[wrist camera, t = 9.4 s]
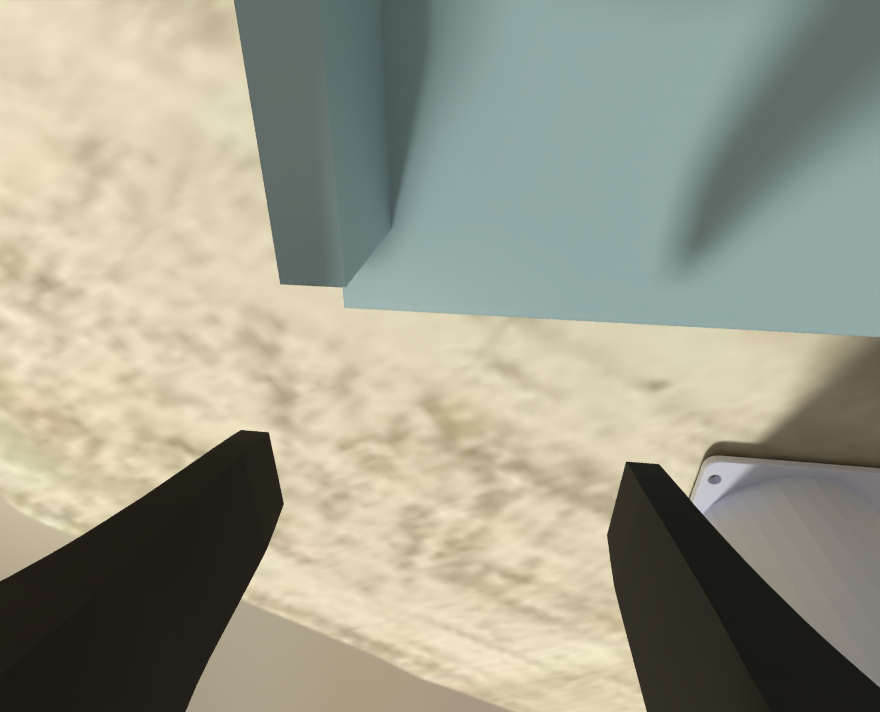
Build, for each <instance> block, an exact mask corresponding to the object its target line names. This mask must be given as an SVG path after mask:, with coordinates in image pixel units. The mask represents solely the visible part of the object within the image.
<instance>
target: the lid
mask: <svg viewBox="0 0 880 712" xmlns="http://www.w3.org/2000/svg"><path fill="white" fill-rule="evenodd" d="M234 4H235V10H236V16H237V22H238V28H239V34H240V40H241V46H242V53H243V59H244V65H245V71H246V77H247V83H248V89H249V95H250V101H251V108H252V114H253V120H254V126H255V132H256V138H257V144H258V150H259V156H260V163H261V169H262V175H263V181H264V187H265V193H266V199H267V205H268V211H269V217H270V224H271V230H272V236H273V242H274V248H275V254H276V260H277V266H278V272H279V279H280V284H286V285H306V286H326V287H343V297H344V308H357V309H376V310H394V311H412V312H430V313H449V314H467V315H485V316H503V317H522V318H540V319H558V320H576V321H595V322H613V323H631V324H649V325H668V326H686V327H704V328H722V329H741V330H759V331H777V332H795V333H814V334H832V335H850V336H868V337H880V0H234Z"/></svg>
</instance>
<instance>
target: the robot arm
mask: <svg viewBox="0 0 880 712" xmlns="http://www.w3.org/2000/svg"><path fill="white" fill-rule="evenodd" d="M712 475H716V476H715V477H711V478H709V477H710V476H712ZM283 505H284V503H283V498H282V493H281V488H280V484H279V479H278V474H277V469H276V465H275V460H274V455H273V450H272V446H271V441H270V436H269V432H258V431H245V430H240V431H239V432H237V433H236V434H234V435H232V436H231V437H229V438H228V439H226V440H225V441H223V442H222V443H220V444H219V445H217V446H216V447H214V448H213V449H212V450H210V451H209V452H207V453H206V454H204V455H203V456H202V457H200V458H199V459H197V460H196V461H194V462H193V463H191V464H190V465H189V466H187V467H186V468H184V469H183V470H181V471H180V472H178V473H177V474H176V475H174V476H173V477H171V478H170V479H168V480H167V481H165V482H164V483H162V484H161V485H159V486H158V487H157V488H155V489H154V490H152V491H151V492H149V493H148V494H146V495H145V496H143V497H142V498H140V499H139V500H137V501H136V502H134V503H132V504H131V505H129V506H128V507H126V508H125V509H123V510H121V511H120V512H118V513H117V514H115V515H114V516H112V517H110V518H109V519H107V520H106V521H104V522H103V523H101V524H99V525H98V526H96V527H95V528H93V529H92V530H90V531H88V532H87V533H85V534H84V535H82V536H80V537H79V538H77V539H75V540H74V541H72V542H70V543H69V544H67V545H65V546H64V547H62V548H60V549H58V550H57V551H55V552H53V553H51V554H50V555H48V556H46V557H44V558H42V559H41V560H39V561H37V562H35V563H33V564H31V565H30V566H28V567H26V568H24V569H22V570H21V571H19V572H17V573H15V574H13V575H12V576H10V577H8V578H6V579H4V580H2V581H0V712H185V711H186V709H187V707H188V704H189V702H190V699H191V697H192V695H193V692H194V690H195V688H196V685H197V683H198V681H199V679H200V677H201V675H202V673H203V671H204V669H205V667H206V665H207V663H208V660H209V658H210V657H211V655H212V653H213V651H214V649H215V647H216V645H217V643H218V641H219V639H220V638H221V636H222V634H223V632H224V630H225V628H226V626H227V624H228V623H229V621H230V619H231V617H232V615H233V613H234V611H235V609H236V607H237V606H238V604H239V602H240V600H241V598H242V596H243V594H244V592H245V590H246V589H247V587H248V585H249V583H250V581H251V579H252V577H253V575H254V573H255V571H256V569H257V567H258V565H259V564H260V562H261V560H262V558H263V556H264V554H265V552H266V550H267V547H268V545H269V542H270V540H271V537H272V535H273V532H274V529H275V527H276V524H277V521H278V518H279V516H280V513H281V510H282V507H283ZM607 538H608V545H609V553H610V561H611V568H612V574H613V581H614V587H615V591H616V595H617V599H618V603H619V607H620V611H621V615H622V619H623V623H624V627H625V630H626V634H627V638H628V642H629V646H630V649H631V653H632V657H633V661H634V665H635V668H636V672H637V676H638V680H639V684H640V687H641V691H642V695H643V699H644V703H645V706H646V710H647V712H880V468H871V467H858V466H846V465H833V464H821V463H808V462H795V461H783V460H770V459H757V458H745V457H732V456H719V455H718V456H711V457H709V458H707V459H706V460H705V461H704V462H703V464H702V466H701V469H700V472H699V475H698V478H697V480H696V483H695V486H694V489H693V491H692V494H691V497H690V499H689V498H688V497H687V496H686V495H685V493H684V492H683V491H682V490H681V489H680V488H679V486H678V485H677V484H676V483H675V482H674V481H673V480H672V478H671V477H670V476H669V475H668V474H667V473H666V472H665V470H664V469H663V468H662V467H661V466H660V465H659V464H649V463H637V462H626V464H625V468H624V472H623V476H622V480H621V483H620V487H619V491H618V495H617V499H616V503H615V507H614V511H613V514H612V518H611V522H610V526H609V530H608V534H607Z"/></svg>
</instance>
